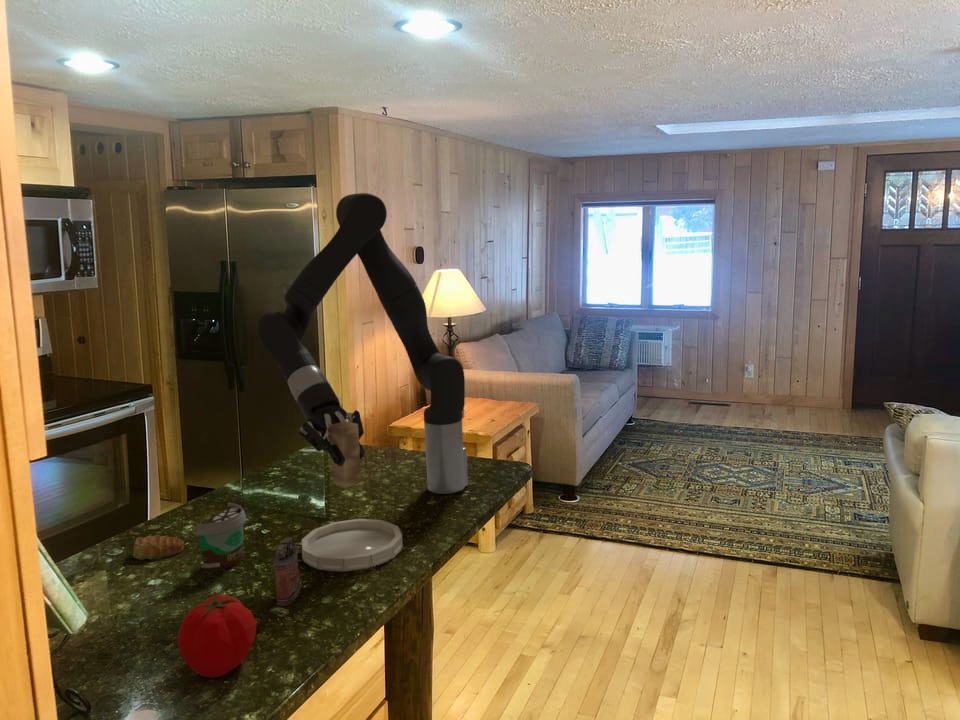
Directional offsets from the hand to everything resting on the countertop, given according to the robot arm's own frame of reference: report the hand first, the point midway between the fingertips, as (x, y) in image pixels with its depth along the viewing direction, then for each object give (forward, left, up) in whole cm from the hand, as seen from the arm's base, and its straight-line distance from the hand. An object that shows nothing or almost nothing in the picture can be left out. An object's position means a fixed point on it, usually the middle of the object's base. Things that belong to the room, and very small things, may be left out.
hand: (351, 460), depth 150 cm
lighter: (+19, +5, -19) cm, 28 cm away
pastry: (+27, -32, -20) cm, 46 cm away
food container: (+19, -16, -19) cm, 31 cm away
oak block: (0, -2, -5) cm, 5 cm away
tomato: (+38, +17, -19) cm, 46 cm away
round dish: (0, -2, -19) cm, 19 cm away
